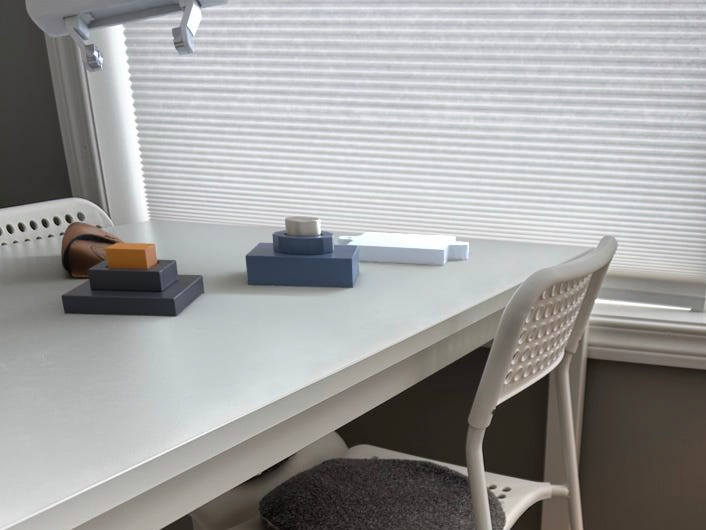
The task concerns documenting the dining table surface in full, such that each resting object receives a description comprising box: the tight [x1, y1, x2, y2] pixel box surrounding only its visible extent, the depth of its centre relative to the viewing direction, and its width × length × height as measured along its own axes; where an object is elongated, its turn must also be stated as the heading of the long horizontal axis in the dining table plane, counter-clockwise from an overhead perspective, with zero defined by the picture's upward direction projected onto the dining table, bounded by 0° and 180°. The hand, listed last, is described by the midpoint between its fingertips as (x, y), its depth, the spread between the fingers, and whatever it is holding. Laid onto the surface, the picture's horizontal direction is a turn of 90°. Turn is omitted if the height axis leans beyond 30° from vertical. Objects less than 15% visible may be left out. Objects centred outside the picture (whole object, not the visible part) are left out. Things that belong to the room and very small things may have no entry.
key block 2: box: [244, 229, 360, 289], centre depth 112 cm, size 12×10×5 cm
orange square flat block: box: [105, 242, 158, 269], centre depth 89 cm, size 4×4×2 cm
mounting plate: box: [337, 231, 470, 266], centre depth 130 cm, size 18×13×2 cm
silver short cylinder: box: [284, 216, 321, 237], centre depth 110 cm, size 4×4×2 cm
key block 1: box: [61, 259, 205, 317], centre depth 91 cm, size 10×12×5 cm
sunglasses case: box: [60, 221, 126, 279], centre depth 115 cm, size 18×7×7 cm
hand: (139, 59), depth 93 cm, fingers open, 8 cm apart
